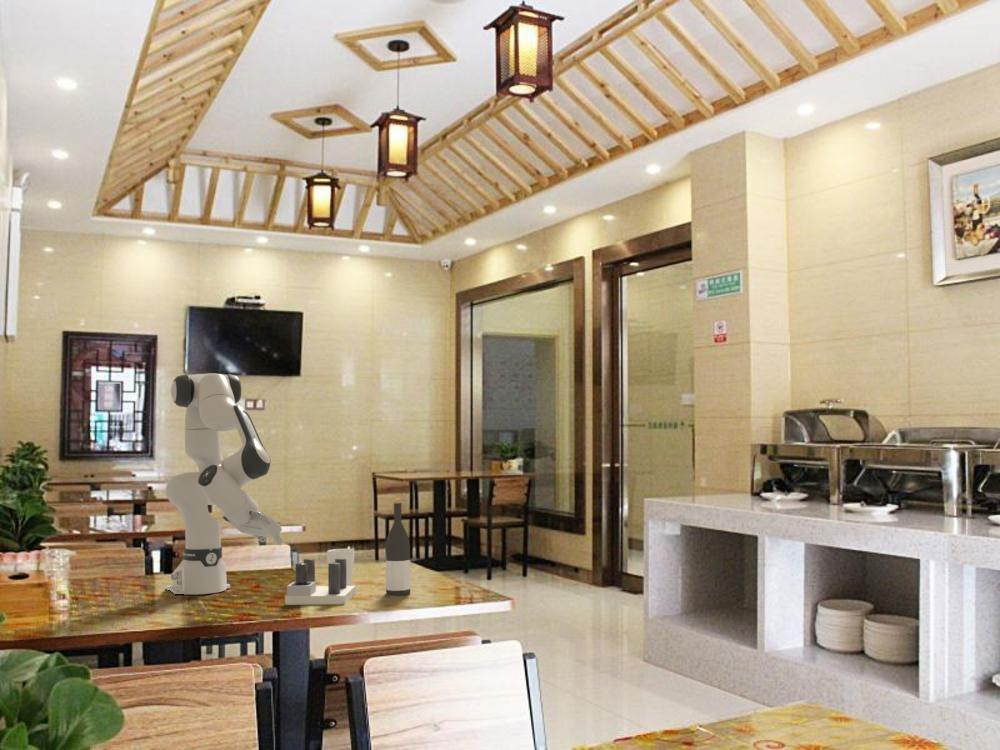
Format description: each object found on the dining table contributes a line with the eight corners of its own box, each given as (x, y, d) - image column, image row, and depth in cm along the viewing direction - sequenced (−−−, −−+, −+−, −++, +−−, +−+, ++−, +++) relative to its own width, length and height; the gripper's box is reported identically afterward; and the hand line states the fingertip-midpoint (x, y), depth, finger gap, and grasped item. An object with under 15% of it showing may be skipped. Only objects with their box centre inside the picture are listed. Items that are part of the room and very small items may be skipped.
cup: (348, 589, 300) (348, 552, 301) (322, 588, 302) (322, 551, 303) (358, 584, 309) (358, 548, 310) (332, 584, 311) (332, 548, 312)
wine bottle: (406, 596, 286) (405, 499, 288) (381, 595, 288) (381, 499, 290) (414, 591, 294) (413, 497, 296) (390, 591, 296) (389, 497, 298)
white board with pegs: (285, 604, 274) (285, 566, 275) (299, 594, 292) (299, 557, 293) (344, 604, 274) (344, 565, 275) (355, 593, 292) (355, 557, 292)
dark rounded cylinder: (293, 593, 278) (293, 563, 279) (303, 592, 281) (303, 562, 281) (299, 595, 276) (299, 565, 276) (309, 593, 278) (309, 563, 279)
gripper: (267, 504, 261) (297, 536, 267) (233, 500, 275) (262, 531, 281) (253, 521, 257) (283, 553, 263) (219, 517, 272) (248, 547, 278)
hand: (272, 541), depth 273 cm, fingers open, 8 cm apart
